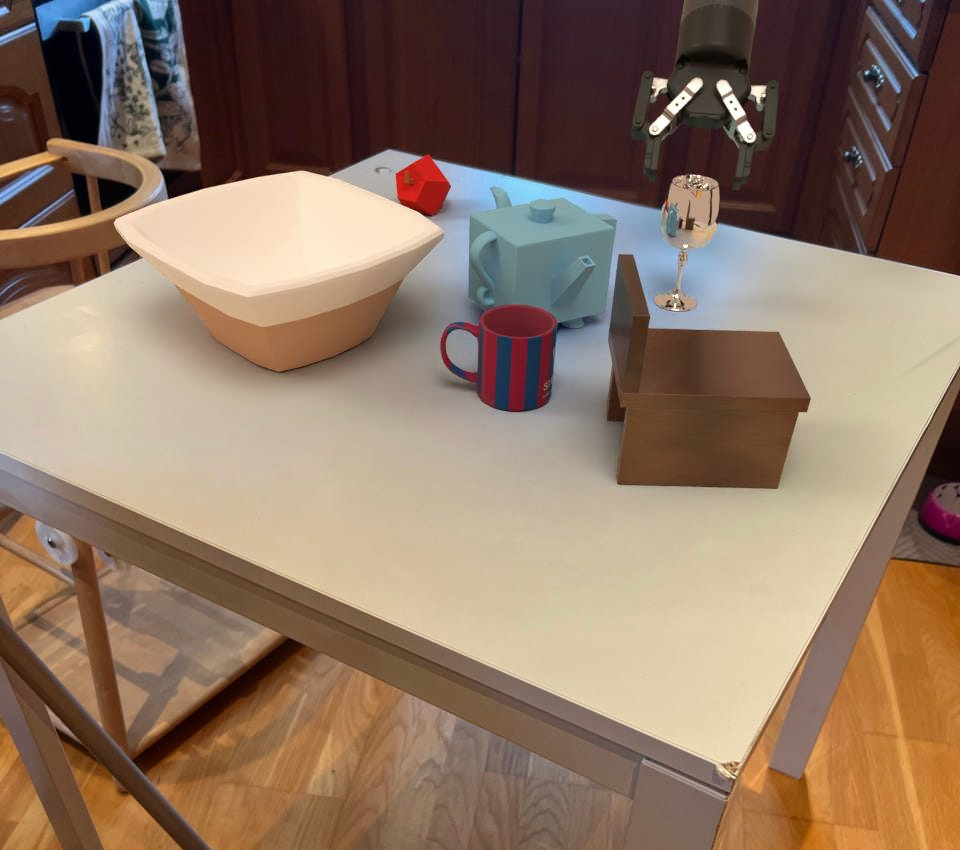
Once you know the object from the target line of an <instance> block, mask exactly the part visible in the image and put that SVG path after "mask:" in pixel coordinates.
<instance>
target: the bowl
mask: <svg viewBox="0 0 960 850" xmlns="http://www.w3.org/2000/svg"><path fill="white" fill-rule="evenodd" d="M113 225H114V228H115V230H116V232H117V233H118V234H119V235H120V236H121V238H122V239H123V240H124V241H125V243H126V244H127V245H128V247H129V248H131V249H132V250H133V251H134V252H136V253H137V254H138V255H139V256H140V257H141V258H142V259H144V260H145V261H146V262H147V263H148V264H150V265H151V266H152V267H153V268H154V269H156V270H157V271H158V273H160V274H161V275H163V276H164V277H165V278H166V279H167V280H168V281H170V282H171V283H172V284H173V286H175V288H176V289H177V291H178V292H179V293H180V294H181V296H182V297H183V298H184V300H185V301H186V302H187V303H188V305H189V306H190V307H191V308H192V310H193V311H194V312H195V314H196V315H197V316H198V318H199V319H200V320H201V321H202V323H203V324H204V325H205V326H206V328H207V329H208V330H209V332H210V333H211V334H212V335H213V336H214V338H215V340H217V341H218V343H221V344H222V345H224V346H225V347H226V348H228V349H230V350H231V351H233V352H235V353H236V354H237V355H239V356H241V357H242V358H245V359H246V360H248V361H250V362H251V363H253V364H255V365H257V366H259V367H263V368H265V369H268V370H271V371H274V372H277V373H280V372H284V371H285V372H286V371H289V370H292V369H297V368H301V367H306V366H309V365H312V364H314V363H318V362H321V361H324V360H326V359H329V358H333V357H335V356H338V355H339V354H342V353H343V352H346V351H348V350H350V349H352V348H355V347H356V346H358V345H361V344H362V343H363V342H364V341H366V340H367V339H369V338H371V337H372V336H373V335H374V332H375V330H376V328H377V327H378V325H379V323H380V322H381V320H382V319H383V316H384V315H385V313H386V311H387V309H388V307H389V306H390V304H391V302H392V300H393V299H394V297H395V296H396V294H397V291H398V290H399V288H400V286H401V285H402V283H403V281H404V279H405V278H406V277H407V276H408V275H409V274H410V273H411V272H412V271H413V270H414V269H415V268H416V267H417V266H418V265H419V264H420V263H421V262H422V261H423V260H424V258H426V257H427V255H429V254H430V253H431V252H432V251H433V249H435V248H436V246H437V245H438V244H439V243H440V242H441V241H442V240H443V239H444V235H445V231H444V230H443V229H442V228H441V227H440V226H439V225H438V224H436V223H435V222H433V221H432V220H430V219H429V218H428V217H426V216H424V214H423V213H419V212H417V211H414V210H412V209H410V208H407V207H405V206H403V205H402V204H401V203H398V202H395V201H393V200H391V199H389V198H386V197H384V196H381V195H379V194H376V193H374V192H371V191H370V190H366V189H364V188H361V187H359V186H356V185H354V184H351V183H349V182H346V181H344V180H341V179H339V178H335V177H330V176H327V175H323V174H318V173H315V172H310V171H306V170H296V171H289V172H283V173H275V174H270V175H263V176H262V175H261V176H257V177H253V178H248V179H244V180H243V179H242V180H238V181H235V182H229V183H225V184H224V183H223V184H219V185H215V186H210V187H206V188H202V189H199V190H195V191H192V192H189V193H185V194H182V195H179V196H176V197H172V198H169V199H165V200H162V201H159V202H156V203H152V204H150V205H147V206H144V207H141V208H139V209H137V210H135V211H132V212H129V213H126V214H124V215H122V216H120V217H117V218H116V219H115V220H114V221H113Z"/></svg>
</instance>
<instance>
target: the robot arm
mask: <svg viewBox="0 0 960 850" xmlns="http://www.w3.org/2000/svg"><path fill="white" fill-rule="evenodd" d="M758 11H759V0H683V6H682V12H681V17H680V21H679V31H678V37H677V38H678V39H677V45H676V53H675V58H674V66H673V71H672V73H671V75H670V76H669V77H668V78H663V77H655V74H654V72H653V71H651V70H647V69H646V70H645V71H643V73H642V74H641V78H640V83H639V88H638V93H637V97H636V100H635V101H636V102H635V106H634V110H633V111H634V112H633V115H632V121H631V133H630V136H631V139H632V140H633V141H642V142H644V143H645V146H646V147H645V155H644V162H643V169H642V171H643V175H644V176H648V182H649V183H656V180H657V173H658V166H659V161H660V153H661V146H662V142H664V140H666V139H667V137H669V136H672V135H673V134H674V133H675V132H676V131H677V130H678V129H679V128H680V127H681V126H682V125H685V126H686V128H687V129H699V128H704V129H707V130H710V131H718V129H719V128H723V130H724V132H725V133H726V135H727V137H728V139H730V141H733V143H734V145H735V146H736V148H737V149H738V151H737V155H736V162H735V168H734V175H733V182H732V187H731V188H732V190H736V191H740V190H741V185H746V184H747V182H748V181H749V178H750V175H751V169H752V162H753V156H754V153H755V152H758V151H761V152H768V151H769V150H770V149H771V147H772V144H773V140H774V138H775V136H776V131H777V130H776V129H777V117H778V116H777V115H778V104H779V92H780V83H779V82H778V80H775V79H771V80H769V81H768V82H766V83H767V84H766V85H758V84H757V85H753V84H751V82H750V79H749V73H750V66H751V60H752V59H751V58H752V52H753V45H754V38H755V31H756V27H757V17H758ZM662 94H665V95H666V98H667V99H668V101H669V104H668V105H667V106H666V107H665V108H664V110H663V112H662V113H661V114H660V116H658V117H657V118H656V120H655V121H653V122H652V123H650V122H648V121H647V117H648V114H649V109H650V104H653V103H655V102H657V101H658V100H659V98H660V95H662ZM749 100H751V101H752V102H753V103H754V108H755V109H756V110H757V112H761V115H760V126H759V127H760V128H759V131H754V129H753V127H752V126H751V124H750V123H749V121H748V117H747V113H746V112H745V110H744V109H743V107H745V105H747V104H748V102H749Z"/></svg>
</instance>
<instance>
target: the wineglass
mask: <svg viewBox="0 0 960 850" xmlns="http://www.w3.org/2000/svg"><path fill="white" fill-rule="evenodd" d="M667 187H668V188H667V190H666V193H665V197H664V198H663V203H662V206H661V210H660V215H659V231H660V234H661V236H662V237H661V238H663V240H664V241H665V242H666V243H667V244H668V245H669V246H671V247H672V248H675V249H677V250H680V251H679V253H678V256H677V277H676V283H675V286H674V287H675V288H674V290H673V291H672V292H670V291H669V292H662V293H659V294H657V295H656V296H655V297H654V299H653V301H654V304H655V305H656V306H657V307H660V308H661V309H664V310H666V311H671V312H687V311H691V310H693V309H695V308H696V307H697V304H698V302H697V300H696V299H695V298H694V297H692V295H689V294H685V293H683V292H681V291H682V289H681V285H682V279H683V273H684V270H685V267H686V265H687V262H688V260H689V258H688V255H689V254H688V253H687V252H688V251H694V250H697V249H700V248H702V247H704V246H706V245H707V244H709V243H710V242H711V240H712V239H713V238H714V236H715V234H716V233H717V229H718V225H719V221H720V213H721V188H720V183H719V181H718V180H716V179H714V178H712V177H710V176H705V175H701V174H682V175H677V176H674V177H673V178H671V181H670V183H669V185H668V186H667Z"/></svg>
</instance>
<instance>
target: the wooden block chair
mask: <svg viewBox="0 0 960 850" xmlns="http://www.w3.org/2000/svg"><path fill="white" fill-rule="evenodd" d="M650 321H651V314H650V310H649V306H648V303H647V299H646V296H645V292H644V288H643V285H642V282H641V277H640V273H639V270H638V267H637V262H636V260H635V256H634V254H633V253H632V254H630V253H629V254H628V253H619V254H618V255H617V263H616V271H615V280H614V287H613V296H612V304H611V312H610V320H609V327H608V337H607V343H608V349H609V355H610V359H611V370H610V376H609V377H610V378H609V386H608V392H607V400H606V401H607V403H606V409H605V417H606V420H607V421H614V422H615V421H617V422H619V421H620V422H623V426H622V433H621V439H620V440H621V441H620V447H619V454H618V461H617V468H616V475H615V477H616V482H617V485H636V486H637V485H639V486H640V485H642V486H676V487H678V486H680V487H713V488H714V487H717V488H753V489H754V488H756V489H778V488H779V485H780V481H781V478H782V474H783V471H784V467H785V463H786V461H787V457H788V453H789V450H790V446H791V442H792V439H793V435H794V432H795V427H796V425H797V421H798V417H799V414H800V413H808V410H809V407H810V404H811V400H812V398H811V395H810V393H809V391H808V389H807V387H806V385H805V383H804V381H803V379H802V377H801V375H800V374H801V373H800V372H799V371H798V368H797V366H796V365H795V362H794V360H793V358H792V356H791V353H790V352H789V350H788V347H787V346H786V344H785V341H784V339H783V337H782V334H781V333H780V331H769V330H768V331H765V330H763V331H762V330H727V329H725V330H724V329H722V330H721V329H696V328H695V329H690V328H689V329H688V328H655V327H654V328H653V327H650Z"/></svg>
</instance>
